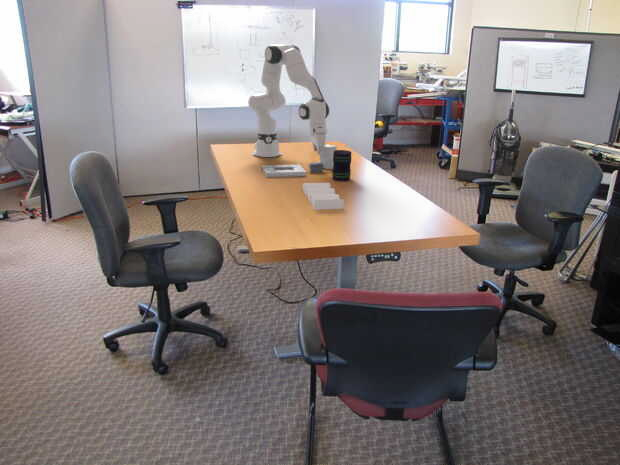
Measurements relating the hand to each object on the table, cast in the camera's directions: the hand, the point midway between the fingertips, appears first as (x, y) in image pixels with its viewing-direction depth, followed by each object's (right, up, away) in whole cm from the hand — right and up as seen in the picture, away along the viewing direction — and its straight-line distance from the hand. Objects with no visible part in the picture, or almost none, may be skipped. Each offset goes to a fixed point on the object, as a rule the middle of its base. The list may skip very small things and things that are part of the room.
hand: (317, 152), depth 289 cm
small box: (+6, -7, +14) cm, 17 cm away
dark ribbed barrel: (+13, -16, -10) cm, 23 cm away
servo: (-1, -10, +4) cm, 11 cm away
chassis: (-19, -11, -1) cm, 22 cm away
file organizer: (+1, -29, -44) cm, 53 cm away
